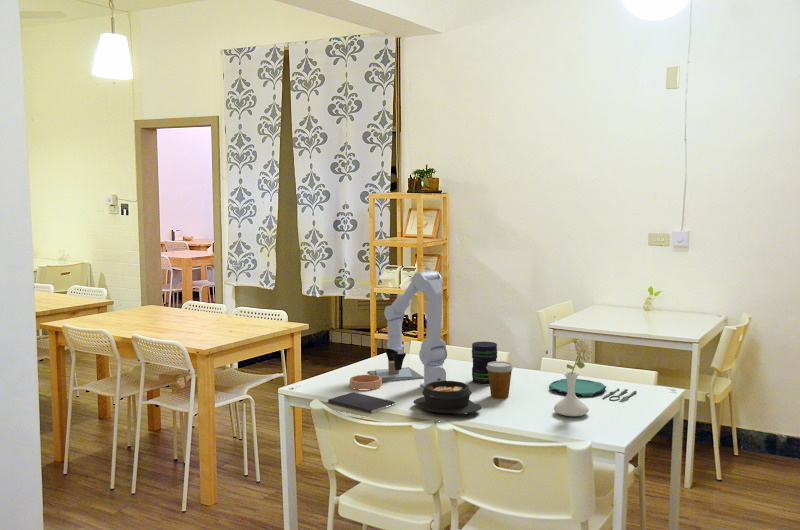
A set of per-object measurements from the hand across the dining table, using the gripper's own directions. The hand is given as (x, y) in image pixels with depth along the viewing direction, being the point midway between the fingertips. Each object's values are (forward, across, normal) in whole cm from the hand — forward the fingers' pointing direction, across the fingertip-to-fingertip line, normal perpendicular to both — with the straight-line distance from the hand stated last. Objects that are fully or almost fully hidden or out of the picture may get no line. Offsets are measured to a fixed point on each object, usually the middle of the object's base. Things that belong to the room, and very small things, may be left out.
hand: (395, 368), depth 303 cm
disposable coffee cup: (+3, -44, -25) cm, 51 cm away
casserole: (+3, -52, -1) cm, 52 cm away
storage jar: (+3, -23, -29) cm, 37 cm away
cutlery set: (+4, -51, -58) cm, 78 cm away
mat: (+3, 0, 0) cm, 3 cm away
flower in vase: (+3, -72, -38) cm, 81 cm away
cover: (+2, 0, +1) cm, 3 cm away
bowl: (+3, -12, +16) cm, 20 cm away
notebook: (+4, -34, +24) cm, 42 cm away
